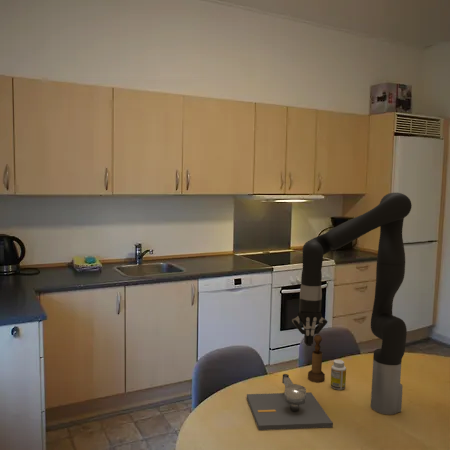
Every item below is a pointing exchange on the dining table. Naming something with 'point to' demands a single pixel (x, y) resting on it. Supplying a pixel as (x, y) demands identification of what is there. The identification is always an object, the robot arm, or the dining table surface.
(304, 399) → the lever handle
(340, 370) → the supplement bottle
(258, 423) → the plate
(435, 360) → the dining table surface
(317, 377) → the wooden pepper mill
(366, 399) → the dining table surface
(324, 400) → the dining table surface
